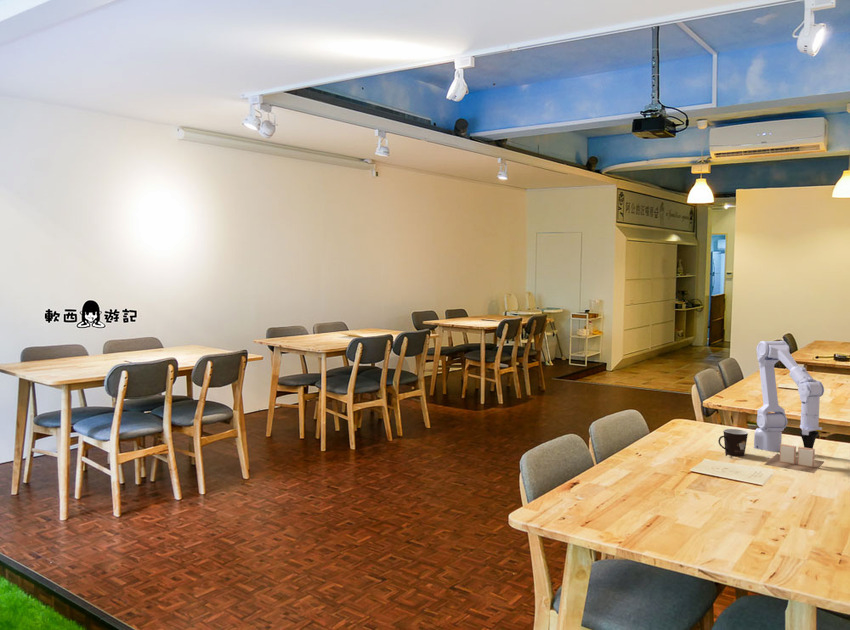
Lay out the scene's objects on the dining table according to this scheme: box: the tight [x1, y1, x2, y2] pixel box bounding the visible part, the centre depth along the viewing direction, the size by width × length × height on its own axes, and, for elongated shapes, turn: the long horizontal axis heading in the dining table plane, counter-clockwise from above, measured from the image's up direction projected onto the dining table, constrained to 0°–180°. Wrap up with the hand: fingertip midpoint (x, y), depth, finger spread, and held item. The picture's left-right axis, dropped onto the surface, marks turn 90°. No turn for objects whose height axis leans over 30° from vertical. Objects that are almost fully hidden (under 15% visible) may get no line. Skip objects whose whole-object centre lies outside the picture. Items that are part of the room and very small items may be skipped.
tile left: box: [779, 443, 797, 465], centre depth 249 cm, size 5×2×6 cm, turn 50°
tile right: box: [797, 446, 816, 468], centre depth 246 cm, size 5×2×6 cm, turn 50°
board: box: [763, 453, 825, 474], centre depth 250 cm, size 16×19×1 cm
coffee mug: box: [717, 428, 749, 458], centre depth 261 cm, size 12×9×10 cm
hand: (808, 450), depth 248 cm, fingers closed
